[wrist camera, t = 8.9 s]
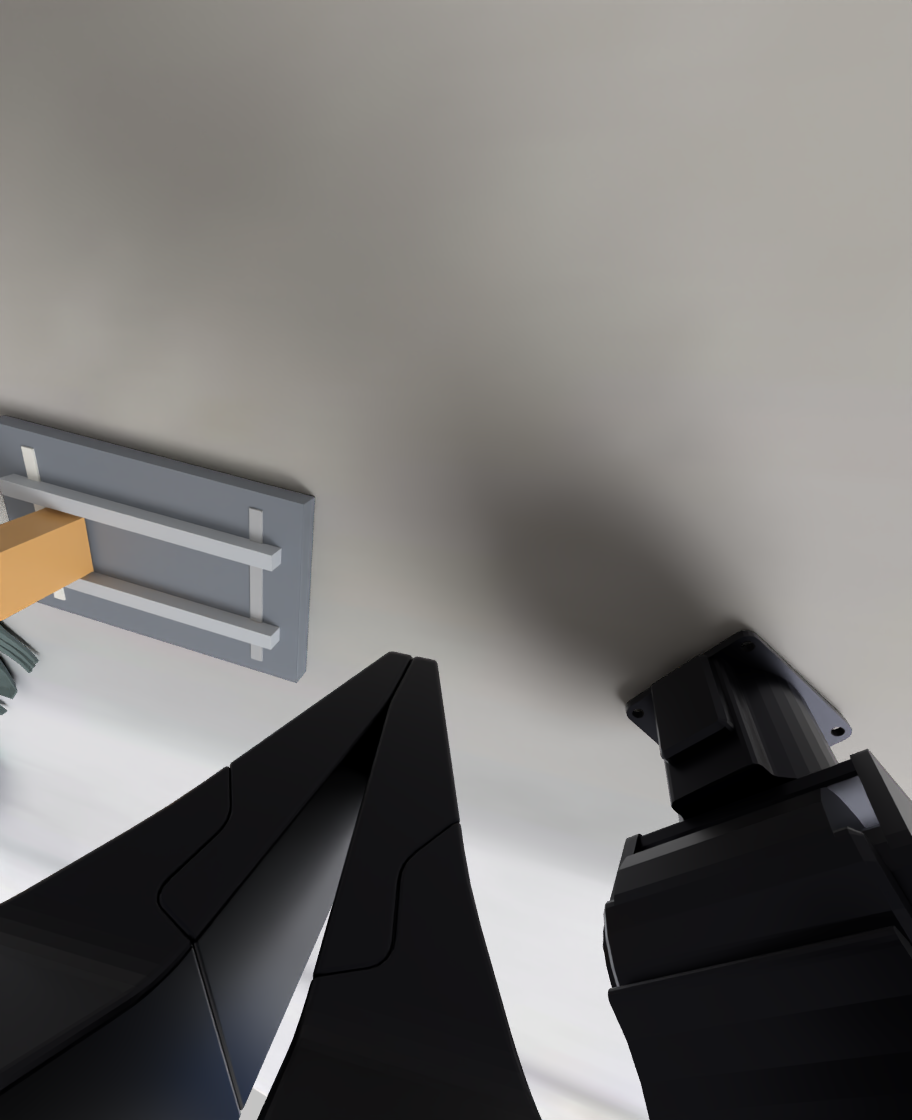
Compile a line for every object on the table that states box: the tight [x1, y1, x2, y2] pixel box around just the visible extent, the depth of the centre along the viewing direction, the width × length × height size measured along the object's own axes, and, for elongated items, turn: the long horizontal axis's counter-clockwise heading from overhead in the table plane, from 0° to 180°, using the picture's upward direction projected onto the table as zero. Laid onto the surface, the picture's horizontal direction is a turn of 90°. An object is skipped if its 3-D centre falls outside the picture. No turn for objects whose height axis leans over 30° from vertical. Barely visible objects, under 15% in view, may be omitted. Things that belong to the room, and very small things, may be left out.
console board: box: [0, 415, 315, 683], centre depth 26 cm, size 16×10×2 cm, turn 80°
